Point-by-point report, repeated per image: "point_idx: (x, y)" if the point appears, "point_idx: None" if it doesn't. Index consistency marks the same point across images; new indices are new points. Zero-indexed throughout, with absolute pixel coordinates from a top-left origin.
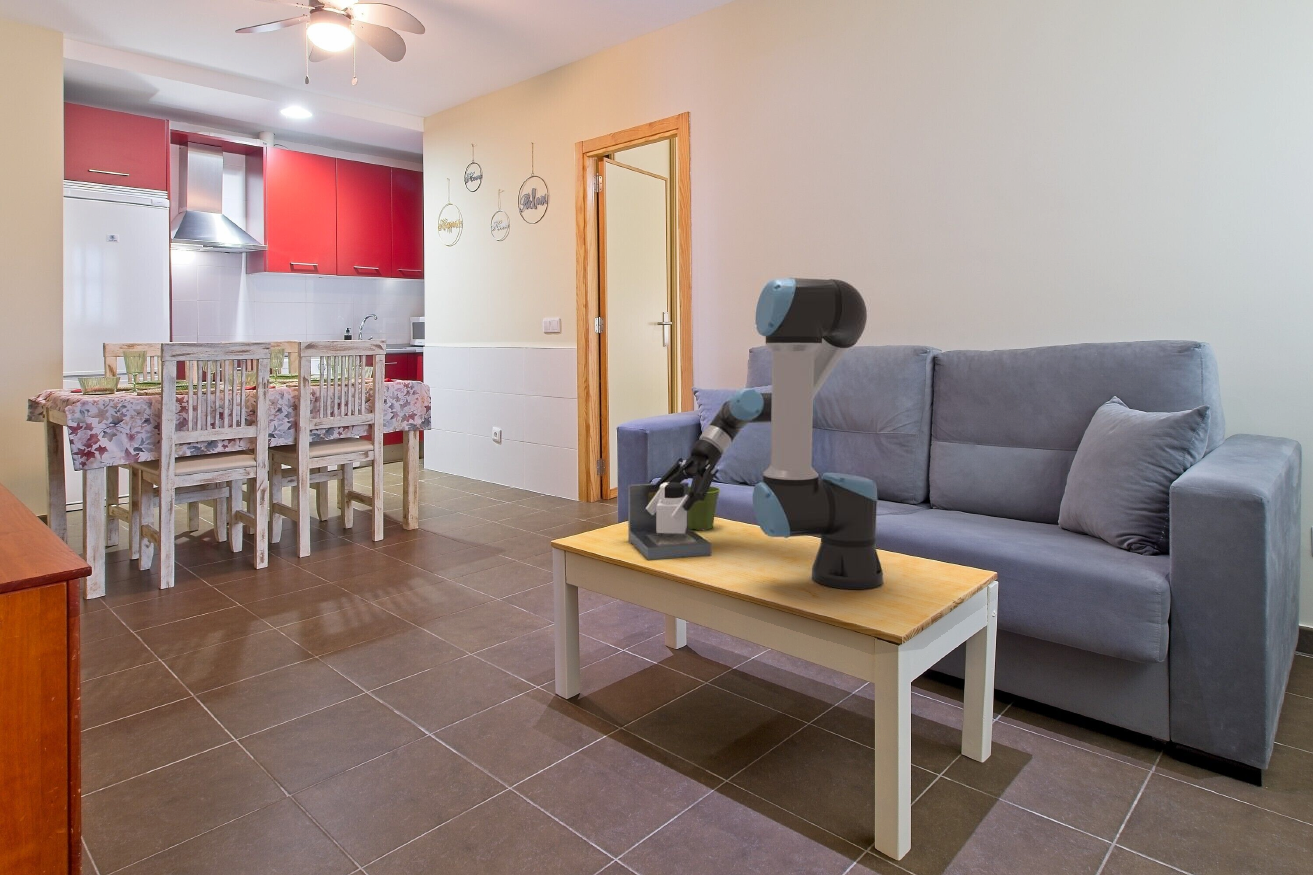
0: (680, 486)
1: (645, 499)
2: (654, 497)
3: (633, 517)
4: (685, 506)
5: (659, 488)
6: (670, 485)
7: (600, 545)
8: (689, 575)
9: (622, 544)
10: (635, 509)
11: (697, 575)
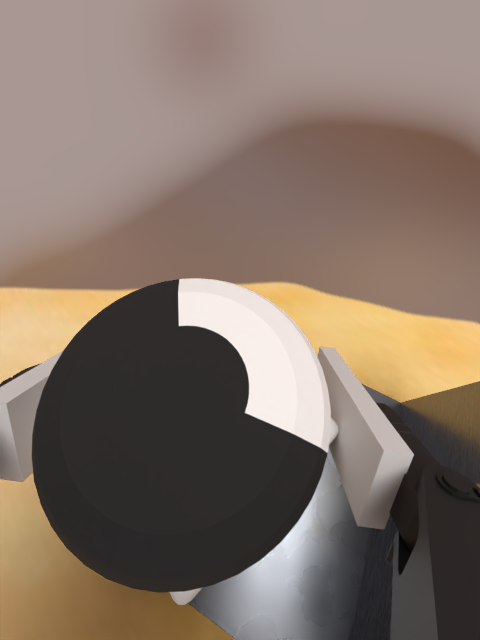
0: (41, 403)
1: None
2: (355, 388)
3: (433, 407)
4: (35, 366)
5: (430, 464)
6: (128, 303)
7: (387, 327)
8: (41, 298)
9: (367, 374)
10: (461, 410)
11: (23, 309)
